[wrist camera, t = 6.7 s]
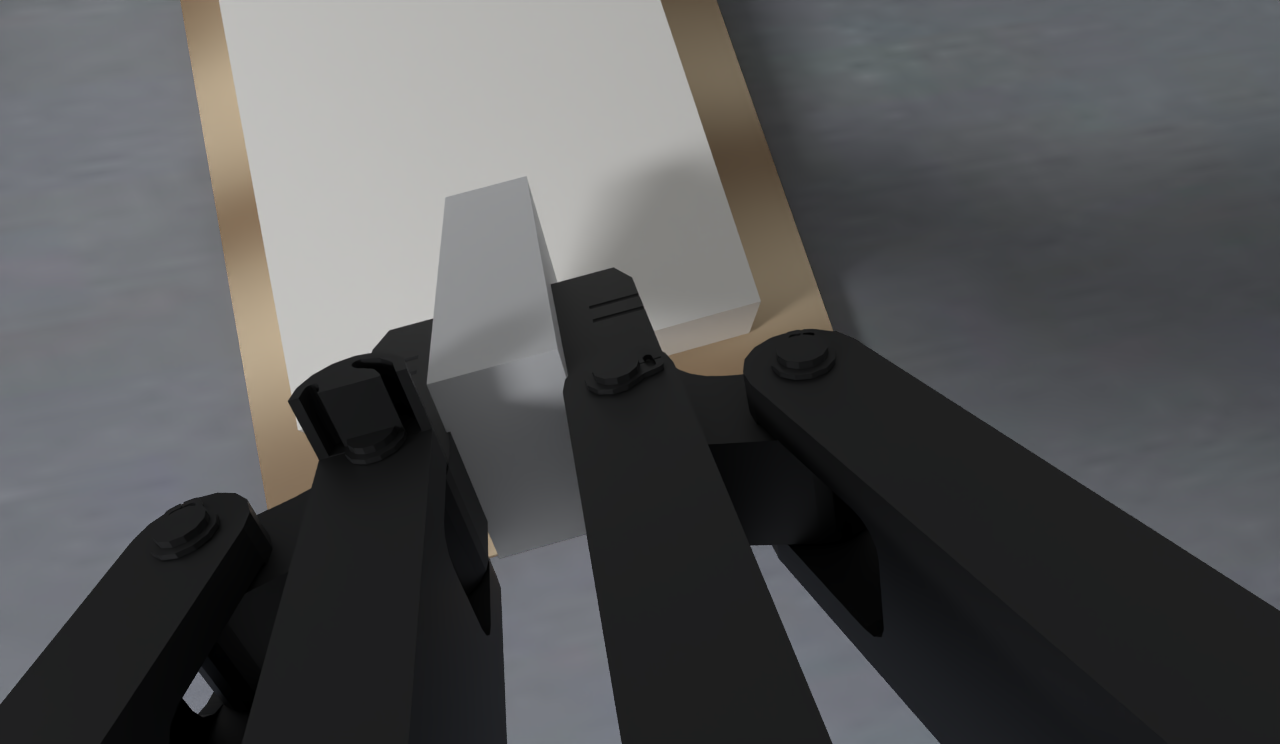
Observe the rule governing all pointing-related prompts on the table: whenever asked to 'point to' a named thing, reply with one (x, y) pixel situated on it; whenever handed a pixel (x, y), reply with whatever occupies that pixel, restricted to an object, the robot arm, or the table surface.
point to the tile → (475, 158)
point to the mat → (782, 309)
